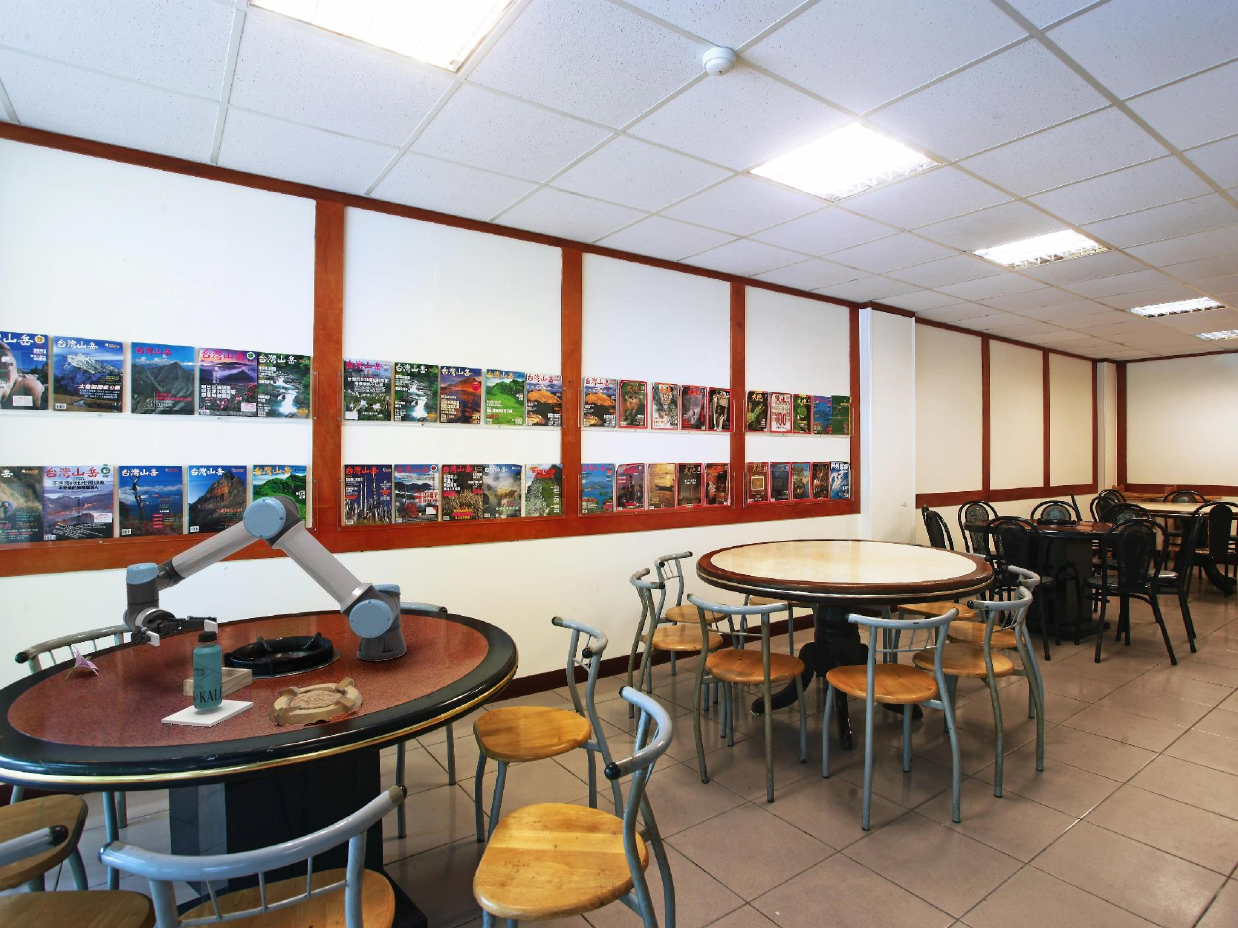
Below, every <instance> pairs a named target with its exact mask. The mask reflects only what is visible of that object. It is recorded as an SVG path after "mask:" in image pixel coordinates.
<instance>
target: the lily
mask: <svg viewBox="0 0 1238 928" xmlns="http://www.w3.org/2000/svg"><path fill="white" fill-rule="evenodd" d="M72 646H73V648H74V649H75V650H76V651H75V650H73V649H71V651H72V652H73V653H74V654H75V656H76V657H75V664H74V667H72V669H71V670H70V671H69V672H68V674H67V675H66V677H65V680H67V679H68V677H69V676H70V674H71V673H72V671H73V670H74V669H76V668H78V667H79V668H81V667H82V668H88V669H91V671H93V672H94V673H95V674H96V675H97V676H99V673H98V672H97V671H96V670H95V669H97V670H98V671H100V669H99V668H98V667H97V666H96V665H95V664H94V663H93V662H91V661H90V660H89V659H91V658H92V656H88V657H86V658H85V657H84V656H82V654H81V652H80V650H79V649H78V648H77V647H76V646H75V645H74V644H72Z"/></svg>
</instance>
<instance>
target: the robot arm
mask: <svg viewBox="0 0 1238 928" xmlns="http://www.w3.org/2000/svg"><path fill="white" fill-rule="evenodd" d="M300 511H301V510H300V508H299V505H298V503H297V502H296V501H295V500H294V499H293V498H292V497H290V496H287V495H282V494H280V495H279V494H278V495H277V494H276V495H272V496H262V497H260V498H258V499H256V500H254V501H252V502H251V503H249V505H247V507H246V508H245V510H244V513H243V516H242V521H240V522H239V521H238V523H236V524H234V525H232V526H230V527H228V528H226V529H224V530H222V531H220V532H219V533H217V534H215V535H213V536H211V537H209V538H207V539H205V540H203V541H202V542H200V543H198V544H196V545H194V546H192V547H190V548H188V549H187V550H185V551H183V552H181V553H179V554H177V555H175V556H173V557H171V558H169V559H168V560H165V561H163V562H162V563H160V564H157V563H155V562H143V563H137V564H135V563H134V564H131V565H128V566H127V568H126V572H125V573H126V574H125V582H126V584H125V585H126V586H125V587H126V609H125V611H124V612H123V615H122V621H123V623H124V625H125V626H126V627H128V628H129V629H130V630H132V632H131V633H130V644H131V645H134V644H137V643H138V642H139V645H140V646H146V645H147V644H149V645H152V646H155V647H158V646H160V644H161V643H160V639H164V638H167V637H168V636H170V635H171V634H173V633H175V632H184V631H187V630H203V631H204V632H206V631H216V633H217V634H218V633H219V632H218V631H219V630H218V629H219V627H218V626H219V625H218V618H217V617H215V616H210V615H209V616H192V615H188V616H186V618H185V617H181V618H180V617H179V618H177V616H175V615H174V614H173V613H172V612H170V611H168V610H164V609H162V608H160V592H161V591H163V590H166V589H169V588H172V587H174V586H176V585H178V584H180V583H181V582H182V581H184V580H186V579H188V578H190V577H191V576H193V575H194V574H196V573H198V572H201V571H202V570H204V569H207V568H208V567H210V566H212V565H214V564H215V563H218V562H220V561H221V560H223V559H225V558H226V557H229V556H230V555H232V554H234V553H236V552H238V551H241V550H242V549H244V548H245V547H247V546H250V545H251V544H253V543H255V542H257V541H258V540H262V541H264V542H265V543H266V544H267V545H268V546H269V547H271V548H272V549H273V550H274V549H275V550H276V549H278V550H282V551H283V552H284V553H285V554H286V555H287V557H289V558H290V559H291V560H293V562H294V563H295V564H297V566H299V568H301V569H302V570H303V571H304V572H305V573H306V574H307V575H308V576H309V577H310V578H312V580H313V581H315V583H317V584H318V586H320V587H321V588H322V589H323V590H324V591H325V592H326V593H327V594H328V595H330V596H331V597H332V598H333V600H335V601H336V602H337V603H338V604H339V606H340V611H339V612H340V614H342V615H343V616H344V617H345V618H346V619H347V620H348V622H349V625H350V628H351V630H352V631H353V632H354V634H356V635H357V636H359V637H360V641H359V644H358V647H357V651H356V655H357V656H356V657H358V658H359V659H363V660H369V661H375V660H383V659H390V658H395V657H397V656H399V655H402V654H403V653H405V652H406V653H407V645H406V641H405V639H404V635H403V633H402V630H401V595H402V593H401V587H400V585H398V584H393V583H391V584H386V583H385V584H384V583H383V584H376V585H371V584H363V583H364V582H361V581H360V580H359V579H358V577H356V576H355V574H353V573H352V572H351V571H350V570H349V569H348V568H347V567H346V566H345V565H344V564H343V563H342V562H341V561H339V559H338V558H336V557H335V556H334V555H333V554H332V552H330V551H329V550H328V549H327V548H325V546H324V545H323V544H321V543H320V542H319V540H317V539H316V537H314V536H313V534H311V533H310V532H309V531H308V530H307V529H306V528H305V526H306V522H305V520H304V519H303V518H302V517H301V512H300ZM146 643H147V644H146ZM358 658H357V659H358ZM359 659H358V660H359Z"/></svg>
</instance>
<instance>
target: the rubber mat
mask: <svg viewBox="0 0 1238 928" xmlns="http://www.w3.org/2000/svg"><path fill="white" fill-rule="evenodd" d="M252 707H254V701H243V700H242V701H241V700H230V699H228V700H227V699H222V703H221V704H220V705H218V706H216V707H213V708H209V709H195V708H194V704H192V705H190V706H188V707H186V708H185V709H182V710H179V711H178V712H175V713H173V714H170V715H169V716H166V717H163V718H162V719H161V723H171V724H170V725H172V723H173V724H179V725H178V726H183V725H192V726H191V727H193V726H209V727H211V726H213V725H215V726H217V725H218V724H217V723H219V724H221V723H223V722H225V721H227V720H229V719H231V718H233V717H235V716H237V715H240V714H241V713H243V712H245V711H247V710H249V709H250V708H252ZM224 720H225V721H224ZM222 721H223V722H222ZM220 722H221V723H220ZM216 724H217V725H216ZM213 727H214V726H213ZM211 728H212V727H211Z"/></svg>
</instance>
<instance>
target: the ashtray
mask: <svg viewBox="0 0 1238 928" xmlns="http://www.w3.org/2000/svg"><path fill="white" fill-rule="evenodd" d="M354 685H355V680H353V679H352V678H350V677H347V676H345V677H344V678H343V679H342V680H341V681H340V682H339V683H333V682H332V683H331V682H329V683H321V684H316V685H315V684H314V685H310V686H306V687H302V688H298V687H297V686H289V687H286V688H282V689H280V690H278V692H277V693H278V695H279V696H280V697H279V698H277V699H276V700H275V701H274V703H273V705H272V706H271V707H270V709H269V712H268V719H269V721H270V720H271V721H272V722H271V721H270V722H271V723H273V722H275V723H277V724H276V725H278V724H279V726H281V725H286V724H289V725H294V724H306V723H313V724H315V723H316V722H318V721H319V720H324V721H326V722H328V720H329V719H332V717H336V716H340V715H341V714H344V713H348V712H349V711H352V710H354V709H355V708H356V707H358V706H359V705H360V704H361V703H362V704H363V696H362V695H361V693H360V691H359V690H358V689H357V688H355V687H354ZM275 723H274V724H275Z"/></svg>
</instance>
